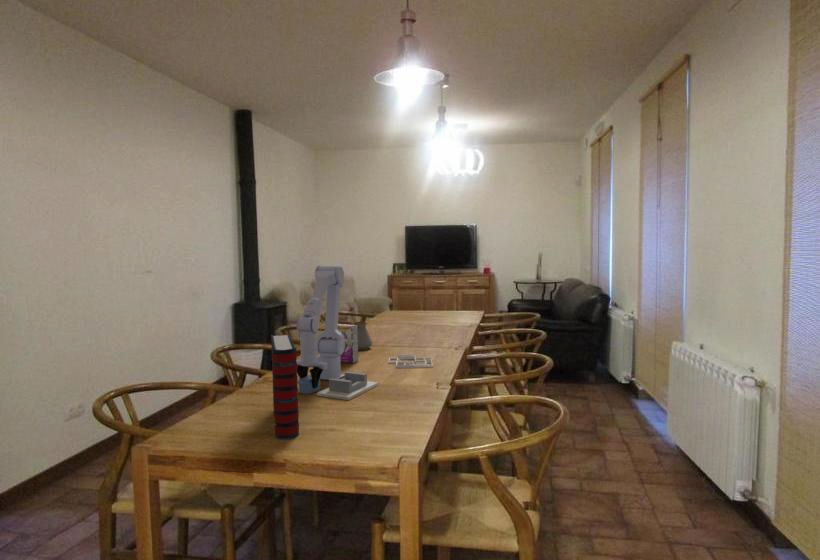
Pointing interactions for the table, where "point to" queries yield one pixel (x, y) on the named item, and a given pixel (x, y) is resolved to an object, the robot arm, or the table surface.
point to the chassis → (347, 386)
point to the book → (285, 387)
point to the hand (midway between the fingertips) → (309, 386)
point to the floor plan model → (411, 362)
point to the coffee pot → (363, 336)
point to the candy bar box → (349, 343)
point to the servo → (307, 385)
